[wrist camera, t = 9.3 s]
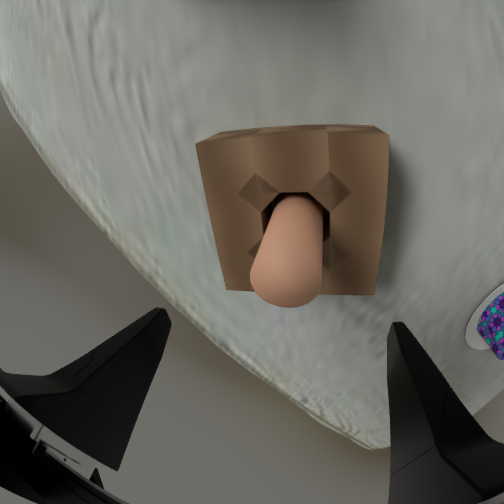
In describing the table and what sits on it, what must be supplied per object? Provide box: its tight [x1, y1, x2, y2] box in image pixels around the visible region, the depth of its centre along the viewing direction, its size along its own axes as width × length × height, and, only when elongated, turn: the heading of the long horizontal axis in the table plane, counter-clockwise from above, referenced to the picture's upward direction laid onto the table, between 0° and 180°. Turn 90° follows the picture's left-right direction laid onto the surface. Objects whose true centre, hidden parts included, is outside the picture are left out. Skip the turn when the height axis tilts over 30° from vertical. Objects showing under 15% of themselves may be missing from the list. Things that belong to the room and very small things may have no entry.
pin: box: [250, 192, 323, 307], centre depth 16 cm, size 3×3×9 cm
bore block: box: [195, 125, 389, 295], centre depth 18 cm, size 11×11×4 cm
